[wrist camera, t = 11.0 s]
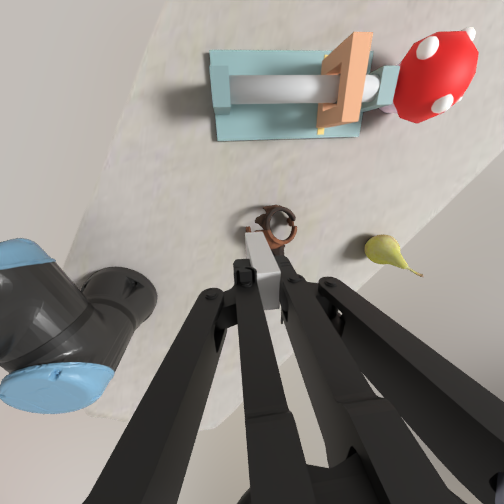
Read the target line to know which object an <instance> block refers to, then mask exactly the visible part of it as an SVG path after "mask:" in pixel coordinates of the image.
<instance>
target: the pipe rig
mask: <svg viewBox="0 0 504 504" xmlns="http://www.w3.org/2000/svg"><path fill="white" fill-rule="evenodd" d="M209 52H210V63H211V66H209V69H210V80H211V90H212V101H213V109H214V112H215V118H216V129H217V139H218V141H237V140H269V139H301V138H334V137H359V134H360V128H361V122H362V116H363V112H366V111H369V110H373V109H377V108H380V107H384V106H388V105H392V102H393V98H394V93H395V88H396V84H397V79H398V75H399V70H400V66H383V67H381V68H379V69H377V70H375V71H373V72H371V73H370V69H371V64H372V58H373V52H374V51H370V54H369V60H368V66H367V72H366V78H365V84H364V91H363V97H362V103H361V109H360V115H359V121H358V122H353V123H349V124H344V125H339V126H334V127H329V128H316V123H317V112H318V103H333V104H337V99H338V91H339V83H340V74H338V75H321V67H322V60H323V59H325V58H326V57H327V56H328V55H329V54H330V53H331V52H332V51H291V50H209Z"/></svg>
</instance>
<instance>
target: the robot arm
mask: <svg viewBox="0 0 504 504" xmlns="http://www.w3.org/2000/svg"><path fill="white" fill-rule="evenodd" d="M245 245H246V259H237V260H235V261H234V263H233V267H234V282H235V283H234V286H233V287H232V288H231V289H229V290H227V291H225V292H223V291H222V290H220V289H218V288H209V289H206V290H204V291H202V292H201V293H200V295H199V297H198V298H197V300H196V302H195V304H194V306H193V307H192V309H191V311H190V313H189V315H188V316H187V318H186V320H185V322H184V324H183V326H182V327H181V329H180V331H179V333H178V335H177V336H176V338H175V340H174V342H173V344H172V345H171V347H170V349H169V351H168V353H167V355H166V356H165V358H164V360H163V362H162V364H161V365H160V367H159V369H158V371H157V373H156V374H155V376H154V378H153V380H152V382H151V383H150V385H149V387H148V389H147V391H146V393H145V394H144V396H143V398H142V400H141V402H140V403H139V405H138V407H137V409H136V411H135V412H134V414H133V416H132V418H131V420H130V422H129V423H128V425H127V427H126V429H125V431H124V433H123V434H122V436H121V438H120V440H119V441H118V443H117V445H116V447H115V449H114V451H113V452H112V454H111V456H110V458H109V460H108V461H107V463H106V465H105V467H104V469H103V470H102V472H101V474H100V476H99V478H98V480H97V481H96V483H95V485H94V487H93V489H92V491H91V492H90V494H89V496H88V497H87V498H86V500H85V501H84V502H83V503H82V504H177V501H178V497H179V494H180V491H181V487H182V484H183V480H184V477H185V474H186V470H187V466H188V463H189V460H190V456H191V453H192V450H193V446H194V443H195V439H196V436H197V433H198V429H199V426H200V422H201V419H202V415H203V412H204V409H205V405H206V402H207V398H208V395H209V391H210V388H211V385H212V381H213V378H214V374H215V371H216V368H217V364H218V361H219V357H220V354H221V350H222V347H223V344H224V340H225V337H226V333H227V328H229V327H231V326H234V325H236V324H238V334H239V347H240V360H241V373H242V386H243V399H244V412H245V425H246V439H247V451H248V464H249V478H250V488H249V489H248V490H247V491H246V492H245V494H244V495H243V496H242V497H241V499H240V500H239V502H238V503H237V504H466V503H465V502H464V501H462V500H461V499H460V498H459V497H458V496H456V495H455V494H454V493H453V492H451V491H450V490H449V489H448V488H447V486H446V485H445V483H444V482H443V480H442V479H441V477H440V476H439V474H438V473H437V471H436V469H435V468H434V466H433V465H432V463H431V462H430V460H429V459H428V458H427V456H426V454H425V453H424V451H423V450H422V448H421V447H420V445H419V444H418V442H417V441H416V439H415V437H414V436H413V434H412V433H411V431H410V430H409V428H408V427H407V425H406V424H405V422H406V423H407V424H408V425H409V426H410V427H411V428H412V430H413V431H414V432H415V433H416V434H417V435H418V436H419V437H420V439H421V440H422V441H423V442H424V443H425V444H426V445H427V446H428V448H429V449H430V450H431V451H432V452H433V453H434V454H435V456H436V457H437V458H438V459H439V460H440V461H441V462H442V463H443V464H444V465H445V466H446V467H447V469H448V470H449V471H450V472H451V473H452V474H453V475H454V476H455V477H456V478H457V479H458V480H459V481H460V482H461V483H462V484H463V485H464V486H465V487H466V488H467V489H468V490H469V491H470V492H471V493H472V494H473V495H475V497H476V498H477V499H478V500H479V501H481V502H482V503H483V504H504V402H503V401H501V400H500V399H499V398H498V397H496V396H495V395H493V394H492V393H491V392H490V391H488V390H487V389H485V388H484V387H483V386H481V385H480V384H479V383H477V382H476V381H475V380H473V379H472V378H471V377H469V376H468V375H467V374H465V373H464V372H462V371H461V370H460V369H458V368H457V367H456V366H454V365H453V364H452V363H450V362H449V361H448V360H446V359H445V358H444V357H442V356H441V355H440V354H438V353H437V352H436V351H434V350H433V349H432V348H430V347H429V346H428V345H426V344H425V343H424V342H422V341H421V340H420V339H418V338H417V337H416V336H414V335H413V334H411V333H410V332H409V331H407V330H406V329H405V328H403V327H402V326H401V325H399V324H398V323H396V322H395V321H394V320H393V319H391V318H390V317H389V316H387V315H386V314H384V313H383V312H382V311H380V310H379V309H378V308H376V307H375V306H374V305H372V304H371V303H370V302H368V301H367V300H366V299H364V298H363V297H362V296H360V295H359V294H358V293H356V292H355V291H354V290H352V289H351V288H350V287H348V286H347V285H346V284H344V283H343V282H341V281H340V280H338V279H337V278H333V277H323V278H320V280H319V283H311V282H306V280H305V279H304V278H303V277H302V276H301V275H299V274H297V273H296V272H295V270H294V268H293V266H292V265H291V263H290V261H289V259H288V258H287V257H285V256H284V255H280V256H273V254H272V251H271V249H270V247H269V245H268V243H267V240H266V238H265V236H264V234H263V232H248V233H245ZM156 303H157V292H156V289H155V287H154V286H153V284H152V283H151V282H150V281H149V280H148V279H147V278H146V277H145V276H143V275H142V274H140V273H138V272H136V271H134V270H131V269H128V268H122V267H110V268H105V269H102V270H99V271H97V272H96V273H94V274H93V275H92V276H91V277H90V278H89V279H88V280H87V281H86V282H85V283H84V285H83V287H82V289H81V291H80V290H79V289H78V288H77V287H76V285H75V284H74V283H73V282H72V281H71V280H70V278H69V277H68V276H67V275H66V274H65V273H64V272H63V270H62V269H61V268H60V267H59V266H58V265H57V263H56V260H55V259H53V258H51V257H49V256H48V255H47V253H45V251H44V250H42V248H40V246H39V245H38V244H36V243H35V242H33V241H31V240H29V239H22V238H16V239H11V240H7V241H3V242H0V366H1V367H2V368H4V369H5V370H6V371H8V372H9V375H6V376H5V377H4V379H2V381H1V385H0V399H1V400H2V401H3V402H4V403H6V404H7V405H9V406H12V407H14V408H16V409H19V410H23V411H27V412H32V413H42V414H60V413H67V412H72V411H77V410H79V409H83V408H85V407H87V406H89V405H91V404H92V403H94V402H95V401H96V400H97V399H98V398H99V397H100V396H101V395H102V393H103V392H104V390H105V388H106V387H107V385H108V383H109V381H110V380H111V379H112V378H113V376H114V373H115V371H116V369H117V367H118V365H119V363H120V360H121V358H122V356H123V354H124V352H125V350H126V348H127V346H128V344H129V341H130V339H131V337H132V335H133V333H134V331H135V330H136V329H137V328H138V327H139V326H140V324H141V323H142V322H144V321H145V320H147V319H148V318H149V317H150V315H151V314H152V312H153V310H154V308H155V306H156ZM280 304H281V324H283V321H284V324H285V326H286V329H287V332H288V335H289V338H290V341H291V344H292V347H293V350H294V353H295V356H296V359H297V362H298V365H299V368H300V371H301V374H302V377H303V380H304V383H305V386H306V389H307V392H308V395H309V397H310V400H311V403H312V406H313V409H314V412H315V415H316V418H317V421H318V424H319V427H320V430H321V433H322V436H323V439H324V442H325V446H326V453H327V460H328V464H329V468H324V467H319V466H313V465H308V464H306V461H305V457H304V454H303V450H302V446H301V442H300V438H299V434H298V431H297V427H296V423H295V420H294V417H293V414H292V412H290V411H289V409H288V406H287V402H286V398H285V394H284V390H283V386H282V382H281V378H280V374H279V369H278V365H277V361H276V357H275V353H274V349H273V345H272V341H271V337H270V333H269V329H268V325H267V321H266V317H265V313H264V310H271V309H279V307H280ZM338 310H340V311H341V312H342V315H341V314H340V313H338ZM362 373H363V374H364V375H365V376H366V377H367V379H368V380H369V381H370V382H371V383H372V384H373V385H374V386H375V388H376V389H377V390H378V391H379V392H380V393H381V394H382V395H383V397H384V398H381V397H378V396H377V395H376V394H375V393H374V392H373V390H372V388H371V387H370V385H369V384H368V382H367V380H366V379H365V377H364V375H363V374H362ZM401 417H402V418H403V419H404V420H405V422H404V421H403V419H402V418H401Z"/></svg>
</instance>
